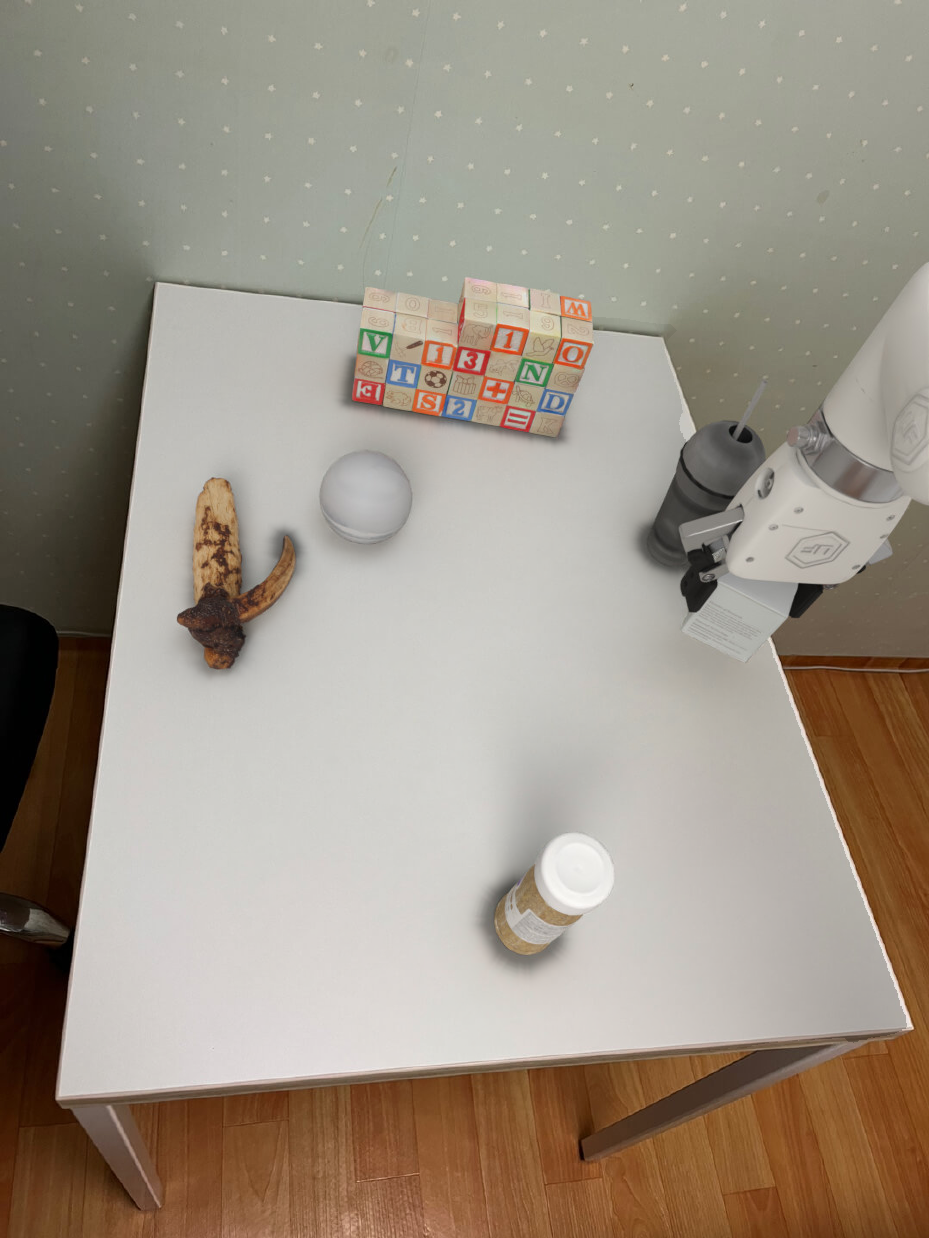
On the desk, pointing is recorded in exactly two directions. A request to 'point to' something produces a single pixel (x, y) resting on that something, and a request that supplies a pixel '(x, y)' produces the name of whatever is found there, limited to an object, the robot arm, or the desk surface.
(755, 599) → the product box
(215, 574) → the lashed bone hook
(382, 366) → the stack of blocks
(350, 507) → the bath bomb
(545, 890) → the sprinkles bottle
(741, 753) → the desk surface
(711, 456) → the beverage cup
